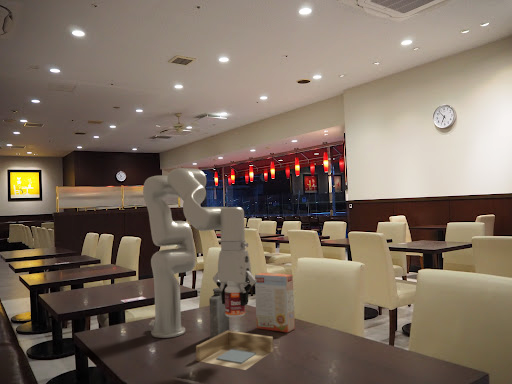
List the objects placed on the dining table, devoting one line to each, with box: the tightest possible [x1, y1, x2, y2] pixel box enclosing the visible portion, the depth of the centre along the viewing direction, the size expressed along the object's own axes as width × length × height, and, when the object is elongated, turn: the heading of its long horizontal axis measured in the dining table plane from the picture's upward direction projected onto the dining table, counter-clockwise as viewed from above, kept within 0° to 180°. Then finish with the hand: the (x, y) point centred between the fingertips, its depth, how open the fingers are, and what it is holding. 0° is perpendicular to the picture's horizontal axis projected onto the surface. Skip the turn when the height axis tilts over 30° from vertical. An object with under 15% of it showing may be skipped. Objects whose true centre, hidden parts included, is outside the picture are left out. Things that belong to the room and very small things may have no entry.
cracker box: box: [254, 272, 296, 333], centre depth 162 cm, size 14×6×21 cm, turn 58°
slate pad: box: [216, 349, 256, 364], centre depth 131 cm, size 9×9×1 cm
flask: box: [208, 287, 230, 339], centre depth 151 cm, size 4×14×18 cm, turn 165°
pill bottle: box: [225, 281, 246, 318], centre depth 132 cm, size 6×6×11 cm
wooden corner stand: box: [195, 330, 274, 371], centre depth 132 cm, size 18×18×5 cm
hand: (234, 303), depth 132 cm, fingers closed on pill bottle, 6 cm apart
